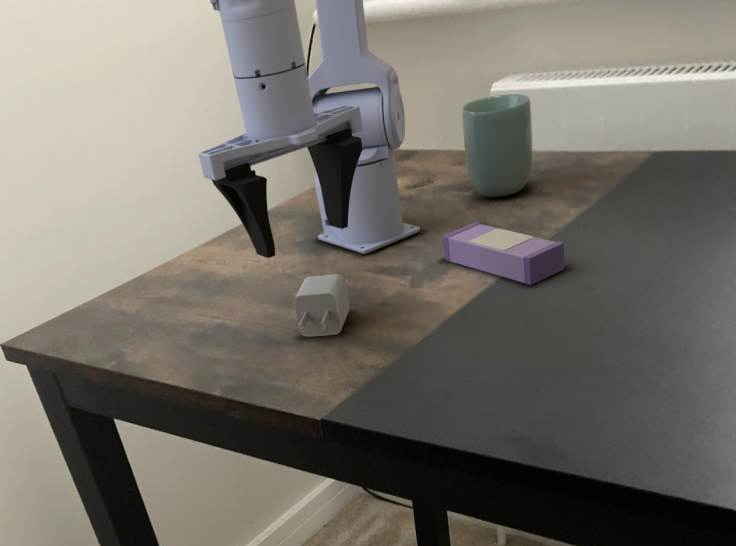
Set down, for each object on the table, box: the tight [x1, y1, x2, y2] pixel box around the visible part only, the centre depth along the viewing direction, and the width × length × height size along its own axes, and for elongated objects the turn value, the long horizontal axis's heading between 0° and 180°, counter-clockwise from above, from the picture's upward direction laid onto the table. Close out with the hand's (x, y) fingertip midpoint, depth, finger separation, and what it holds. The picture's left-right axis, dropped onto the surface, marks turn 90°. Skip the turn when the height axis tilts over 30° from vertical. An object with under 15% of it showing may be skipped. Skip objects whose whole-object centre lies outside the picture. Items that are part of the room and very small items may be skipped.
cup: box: [461, 93, 533, 198], centre depth 104 cm, size 8×8×10 cm
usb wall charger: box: [292, 273, 351, 338], centre depth 81 cm, size 4×7×4 cm, turn 170°
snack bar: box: [442, 221, 566, 286], centre depth 87 cm, size 12×4×3 cm, turn 36°
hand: (303, 240), depth 77 cm, fingers open, 7 cm apart
